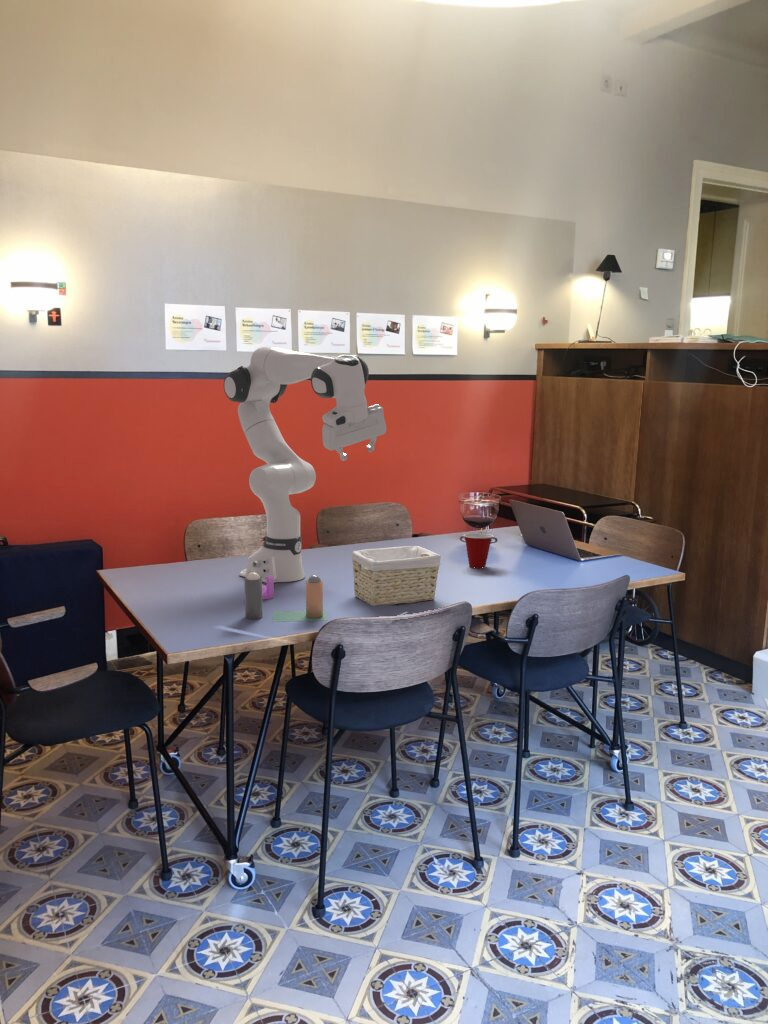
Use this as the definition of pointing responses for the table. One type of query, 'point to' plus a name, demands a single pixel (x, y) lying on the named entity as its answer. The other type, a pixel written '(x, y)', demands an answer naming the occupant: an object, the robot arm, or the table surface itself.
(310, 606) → the orange cylinder
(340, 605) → the table surface
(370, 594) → the storage basket
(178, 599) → the table surface
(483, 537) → the plastic cup
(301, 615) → the green card
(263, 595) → the bracket
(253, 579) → the charcoal tube
